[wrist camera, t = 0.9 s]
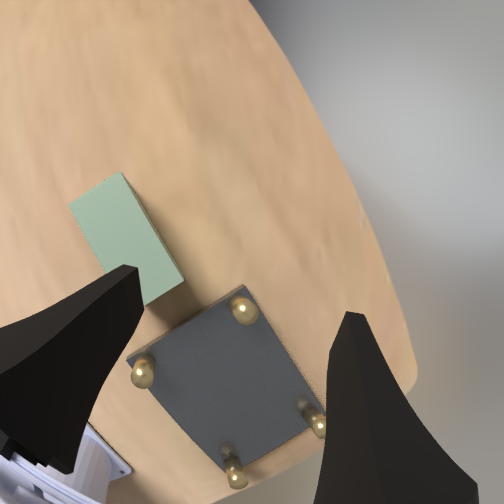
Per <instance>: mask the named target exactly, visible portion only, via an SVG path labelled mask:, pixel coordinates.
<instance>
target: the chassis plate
mask: <svg viewBox="0 0 504 504" xmlns="http://www.w3.org/2000/svg"><path fill="white" fill-rule="evenodd" d="M126 361H127V362H128V364H129V365H130V366H131V368H132V369H133V370H132V373H131V381H132V383H133V384H134V385H135V386H136V387H138V388H141V389H146V388H148V389H149V391H150V392H151V393H152V394H153V396H154V397H155V398H156V399H157V400H158V402H159V403H160V404H161V405H162V406H163V408H164V409H165V410H166V411H167V412H168V413H169V415H170V416H171V417H172V418H173V419H174V420H175V421H176V423H177V424H178V425H179V426H180V427H181V428H182V429H183V430H184V431H185V432H186V434H187V435H188V436H189V437H190V438H191V439H192V440H193V441H194V442H195V443H196V444H197V445H198V446H199V447H200V448H201V449H202V450H203V451H204V452H205V453H206V454H207V455H208V456H209V457H210V458H211V459H212V460H213V461H214V462H215V463H216V464H217V465H218V466H219V467H220V468H221V469H222V470H223V471H224V472H225V473H226V474H227V478H228V481H229V485H230V487H231V488H233V489H237V490H238V489H243V488H245V487H246V486H247V485H248V480H247V477H246V474H245V471H244V469H243V467H244V466H246V465H247V464H249V463H251V462H253V461H254V460H256V459H258V458H260V457H261V456H263V455H265V454H267V453H268V452H270V451H272V450H273V449H275V448H277V447H278V446H280V445H281V444H283V443H285V442H286V441H288V440H289V439H291V438H292V437H294V436H296V435H297V434H299V433H300V432H302V431H303V430H305V429H306V428H308V427H310V428H311V429H312V430H313V432H314V433H315V434H316V435H317V437H318V438H321V439H324V438H325V436H326V417H325V415H326V412H325V411H324V409H323V408H322V406H321V405H320V403H319V402H318V400H317V398H316V397H315V395H314V394H313V392H312V391H311V389H310V388H309V386H308V385H307V383H306V381H305V380H304V378H303V377H302V375H301V374H300V372H299V371H298V369H297V367H296V366H295V364H294V363H293V361H292V360H291V358H290V356H289V355H288V353H287V352H286V350H285V349H284V347H283V345H282V344H281V342H280V341H279V339H278V337H277V336H276V334H275V333H274V331H273V329H272V328H271V326H270V325H269V323H268V322H267V320H266V318H265V317H264V315H263V314H262V312H261V310H260V309H259V307H258V305H257V304H256V302H255V301H254V299H253V297H252V296H251V294H250V293H249V291H248V289H247V288H246V286H245V285H243V284H242V285H241V286H239V287H237V288H236V289H234V290H233V291H231V292H230V293H228V294H226V295H225V296H223V297H222V298H220V299H219V300H217V301H215V302H214V303H212V304H211V305H209V306H208V307H206V308H204V309H203V310H201V311H200V312H198V313H196V314H195V315H193V316H192V317H190V318H189V319H187V320H185V321H184V322H182V323H181V324H179V325H177V326H176V327H174V328H173V329H171V330H169V331H168V332H166V333H165V334H163V335H161V336H160V337H158V338H156V339H155V340H153V341H152V342H150V343H148V344H147V345H145V346H144V347H142V348H140V349H139V350H137V351H135V352H134V353H132V354H130V355H129V356H128V357H127V359H126Z"/></svg>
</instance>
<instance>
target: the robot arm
mask: <svg viewBox="0 0 504 504" xmlns="http://www.w3.org/2000/svg"><path fill="white" fill-rule="evenodd" d="M143 312H144V305H143V298H142V292H141V285H140V278H139V270H138V267H134V266H130V265H126V264H123V265H121V266H119V267H117V268H115V269H114V270H112V271H110V272H108V273H107V274H105V275H103V276H102V277H100V278H99V279H97V280H95V281H94V282H92V283H90V284H89V285H87V286H85V287H84V288H82V289H80V290H79V291H77V292H75V293H74V294H72V295H70V296H68V297H67V298H65V299H63V300H61V301H59V302H58V303H56V304H54V305H52V306H50V307H49V308H47V309H45V310H43V311H41V312H38V313H36V314H34V315H32V316H30V317H27V318H25V319H23V320H20V321H17V322H15V323H12V324H10V325H7V326H4V327H1V328H0V504H105V502H106V497H107V492H108V487H109V482H111V481H114V480H116V479H118V478H121V477H123V476H126V475H128V474H130V473H131V467H130V466H129V465H128V464H126V463H125V462H124V461H123V460H122V459H121V458H120V457H119V456H118V455H117V454H116V453H115V452H114V451H113V450H112V449H111V448H110V447H109V446H108V445H107V443H106V442H105V441H104V440H103V439H102V438H101V437H100V436H99V435H98V434H97V433H96V432H95V431H94V429H93V428H92V427H91V426H90V425H89V424H88V423H87V422H88V419H89V416H90V414H91V411H92V408H93V406H94V404H95V401H96V399H97V397H98V394H99V392H100V390H101V387H102V385H103V384H104V382H105V380H106V378H107V376H108V375H109V373H110V371H111V370H112V368H113V366H114V365H115V363H116V361H117V360H118V358H119V356H120V355H121V353H122V352H123V350H124V348H125V347H126V345H127V343H128V342H129V340H130V339H131V337H132V335H133V334H134V332H135V329H136V327H137V325H138V323H139V321H140V319H141V316H142V314H143ZM122 471H124V472H122ZM313 504H479V496H478V487H477V483H476V482H475V481H474V480H473V479H472V478H471V477H469V476H468V475H467V474H466V473H465V472H464V471H463V470H462V469H461V468H460V467H459V466H458V465H457V464H456V463H455V462H454V461H453V460H452V459H451V458H450V457H449V456H448V454H447V453H446V452H445V451H444V450H443V449H442V448H441V446H440V445H439V444H438V443H437V442H436V440H435V439H434V438H433V437H432V435H431V434H430V433H429V431H428V430H427V429H426V428H425V426H424V425H423V423H422V422H421V421H420V419H419V418H418V416H417V415H416V413H415V412H414V410H413V409H412V407H411V406H410V404H409V403H408V401H407V399H406V398H405V396H404V394H403V392H402V391H401V389H400V387H399V385H398V384H397V382H396V380H395V378H394V376H393V374H392V372H391V370H390V368H389V366H388V364H387V362H386V360H385V358H384V356H383V354H382V352H381V350H380V348H379V346H378V344H377V342H376V339H375V337H374V335H373V333H372V331H371V328H370V326H369V324H368V322H367V319H366V317H365V316H364V314H359V313H354V312H348V311H346V313H345V316H344V318H343V321H342V323H341V326H340V328H339V330H338V333H337V335H336V338H335V340H334V342H333V345H332V347H331V349H330V353H329V361H328V370H327V390H326V436H325V447H324V453H323V460H322V465H321V471H320V476H319V481H318V486H317V491H316V496H315V499H314V503H313Z"/></svg>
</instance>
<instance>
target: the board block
mask: <svg viewBox="0 0 504 504" xmlns="http://www.w3.org/2000/svg"><path fill="white" fill-rule="evenodd" d="M69 207H70V209H71V211H72V213H73V215H74V217H75V219H76V221H77V223H78V225H79V227H80V229H81V231H82V232H83V234H84V236H85V238H86V240H87V242H88V243H89V245H90V247H91V249H92V251H93V252H94V254H95V256H96V258H97V259H98V261H99V263H100V265H101V266H102V268H103V270H104V271H105V273H106V274H107V273H108V272H110V271H112V270H114V269H115V268H117V267H119V266H121V265H123V264H126V265H130V266H134V267H138V270H139V278H140V285H141V292H142V298H143V305H144V306H145V305H146V304H148V303H149V302H151V301H153V300H154V299H156V298H157V297H159V296H161V295H162V294H164V293H165V292H167V291H168V290H170V289H172V288H173V287H175V286H176V285H178V284H180V283H181V282H183V281H184V277H183V273H182V271H181V270H180V268H179V266H178V265H177V263H176V261H175V260H174V258H173V257H172V255H171V253H170V252H169V250H168V248H167V247H166V245H165V243H164V242H163V240H162V238H161V237H160V235H159V233H158V232H157V230H156V228H155V226H154V225H153V223H152V221H151V220H150V218H149V216H148V214H147V213H146V211H145V209H144V207H143V206H142V204H141V202H140V200H139V199H138V197H137V195H136V193H135V191H134V190H133V188H132V186H131V184H130V183H129V182H128V181H127V179H126V178H125V177H124V175H123V174H122V173H121V171H119V172H117V173H115V174H114V175H112V176H111V177H109V178H108V179H106V180H104V181H103V182H101V183H100V184H98V185H97V186H95V187H94V188H92V189H91V190H89V191H88V192H86V193H85V194H83V195H82V196H80V197H79V198H78V199H76V200H75V201H73V202H72V203H70V204H69Z"/></svg>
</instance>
